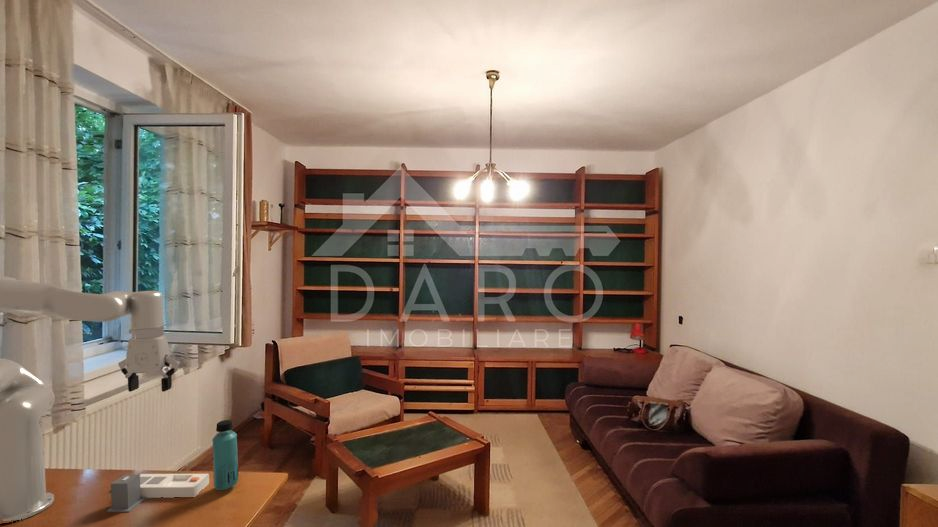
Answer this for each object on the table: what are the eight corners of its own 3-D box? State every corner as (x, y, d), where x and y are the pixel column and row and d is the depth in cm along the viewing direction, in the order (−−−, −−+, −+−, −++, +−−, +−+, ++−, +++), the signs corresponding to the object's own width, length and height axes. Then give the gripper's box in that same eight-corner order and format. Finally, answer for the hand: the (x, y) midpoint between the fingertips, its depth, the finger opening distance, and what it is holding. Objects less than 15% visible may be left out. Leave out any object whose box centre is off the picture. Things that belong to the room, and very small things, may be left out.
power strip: (101, 497, 118) (100, 485, 118) (121, 483, 125) (121, 472, 125) (194, 497, 119) (193, 485, 119) (209, 483, 126) (208, 471, 126)
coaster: (106, 512, 112) (106, 510, 112) (124, 498, 118) (124, 497, 118) (129, 512, 112) (129, 510, 112) (146, 498, 118) (146, 497, 118)
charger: (124, 498, 117) (123, 473, 117) (140, 498, 117) (139, 473, 117) (111, 508, 113) (110, 482, 113) (128, 508, 113) (127, 482, 113)
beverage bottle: (227, 496, 119) (225, 427, 118) (207, 493, 121) (205, 425, 120) (244, 483, 126) (242, 418, 125) (225, 481, 127) (223, 416, 126)
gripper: (107, 335, 120) (110, 394, 121) (168, 335, 120) (170, 394, 121) (128, 330, 128) (130, 385, 128) (186, 330, 128) (187, 385, 129)
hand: (150, 390), depth 125 cm, fingers open, 9 cm apart
